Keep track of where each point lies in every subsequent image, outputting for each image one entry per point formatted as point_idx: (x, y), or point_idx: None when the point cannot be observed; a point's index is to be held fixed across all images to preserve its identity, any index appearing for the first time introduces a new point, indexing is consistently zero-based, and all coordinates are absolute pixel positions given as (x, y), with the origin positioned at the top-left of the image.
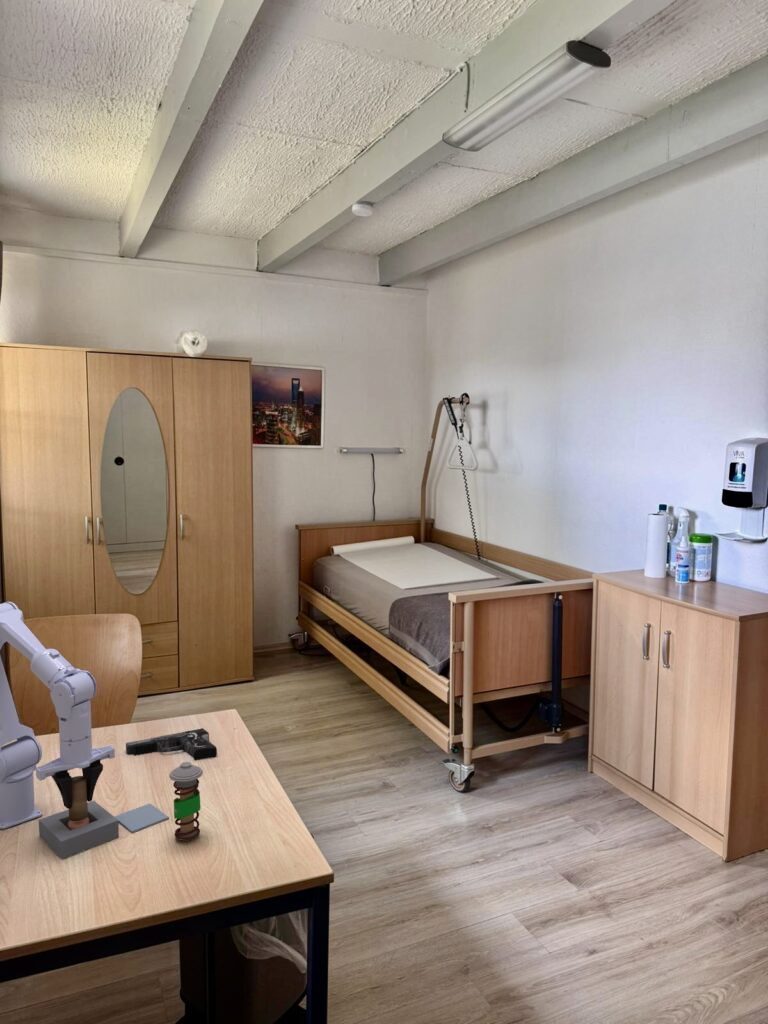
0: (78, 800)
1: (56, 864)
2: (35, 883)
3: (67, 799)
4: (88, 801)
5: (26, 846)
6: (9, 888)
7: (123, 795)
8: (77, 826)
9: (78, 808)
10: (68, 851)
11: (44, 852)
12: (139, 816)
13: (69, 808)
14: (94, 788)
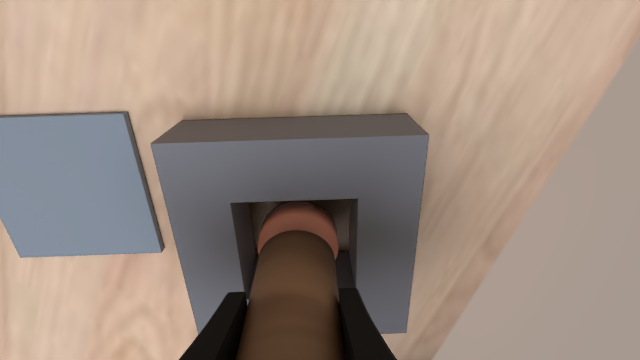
0: (306, 303)
1: (435, 95)
2: (554, 16)
3: (374, 327)
4: (245, 294)
5: (443, 261)
6: (625, 53)
7: (103, 347)
8: (316, 217)
9: (307, 270)
10: (385, 120)
11: (424, 197)
12: (73, 199)
13: (349, 288)
14: (190, 345)
